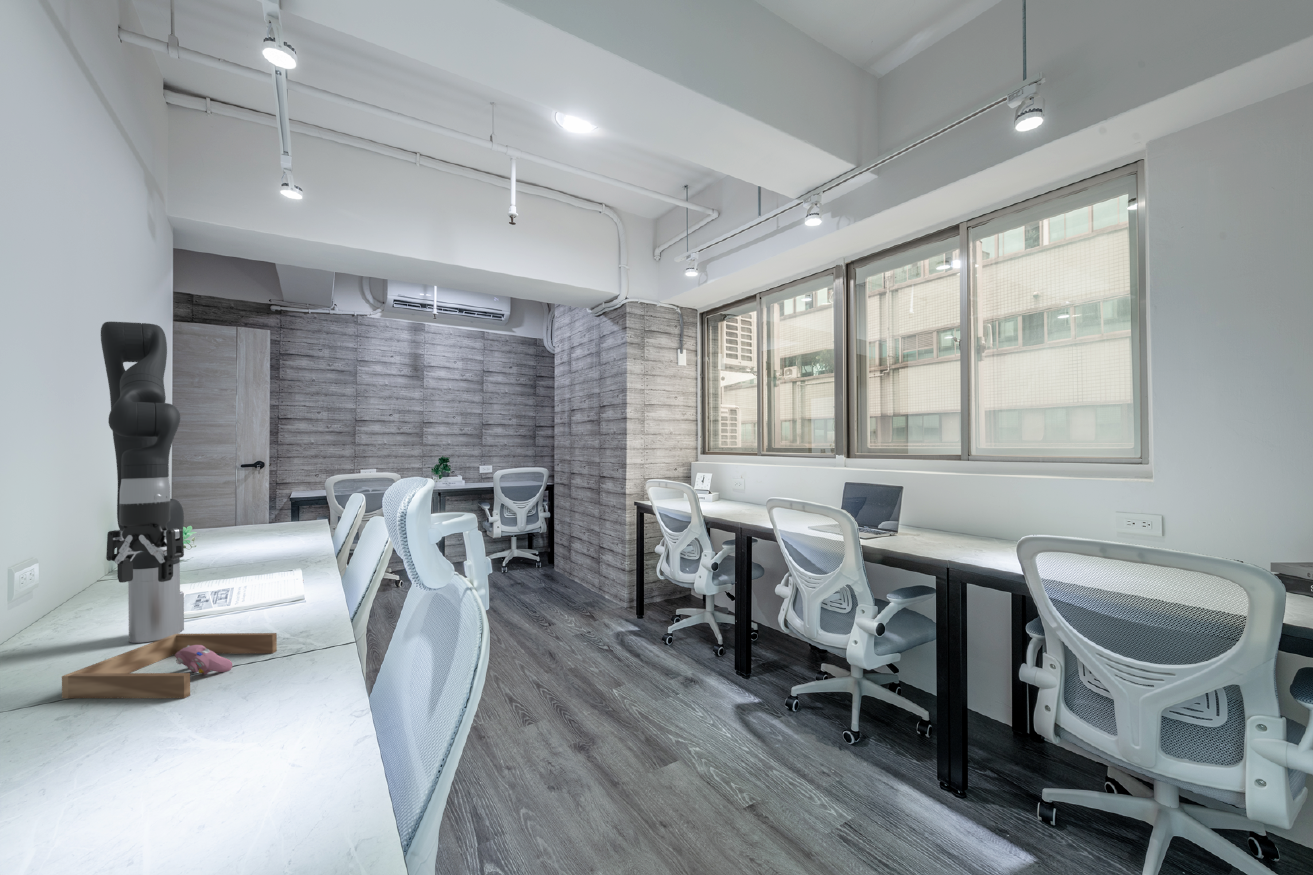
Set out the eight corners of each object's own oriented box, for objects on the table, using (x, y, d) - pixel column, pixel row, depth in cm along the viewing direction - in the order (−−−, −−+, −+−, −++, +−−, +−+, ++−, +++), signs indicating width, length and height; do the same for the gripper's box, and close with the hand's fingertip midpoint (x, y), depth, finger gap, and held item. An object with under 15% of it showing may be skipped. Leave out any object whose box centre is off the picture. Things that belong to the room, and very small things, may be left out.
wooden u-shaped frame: (176, 651, 121) (176, 633, 122) (276, 651, 120) (276, 633, 120) (61, 698, 99) (61, 676, 99) (184, 698, 98) (184, 675, 98)
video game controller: (183, 678, 111) (165, 652, 108) (206, 660, 115) (189, 635, 112) (214, 685, 107) (195, 659, 104) (236, 666, 111) (219, 641, 108)
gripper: (195, 498, 114) (195, 576, 113) (131, 499, 115) (131, 577, 114) (160, 501, 106) (160, 585, 106) (92, 503, 107) (91, 586, 107)
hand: (145, 581), depth 110 cm, fingers open, 8 cm apart
